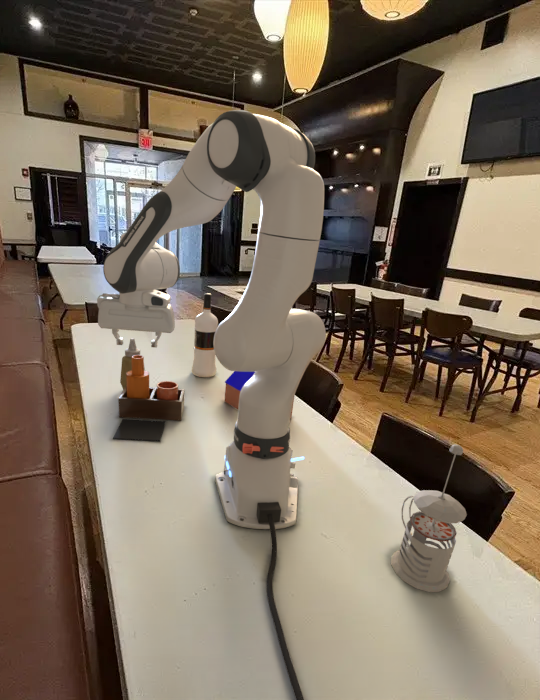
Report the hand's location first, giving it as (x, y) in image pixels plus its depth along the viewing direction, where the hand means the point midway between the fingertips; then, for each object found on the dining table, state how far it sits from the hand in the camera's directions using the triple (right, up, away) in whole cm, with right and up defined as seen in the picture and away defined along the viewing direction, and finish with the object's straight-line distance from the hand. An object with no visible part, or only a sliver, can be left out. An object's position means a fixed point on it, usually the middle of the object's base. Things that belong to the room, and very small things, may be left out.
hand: (137, 345), depth 115 cm
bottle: (-1, -19, +7) cm, 20 cm away
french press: (+60, -43, -41) cm, 84 cm away
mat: (+2, -23, -3) cm, 23 cm away
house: (+34, -19, +15) cm, 42 cm away
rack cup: (+7, -19, +8) cm, 22 cm away
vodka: (+15, -7, +41) cm, 44 cm away
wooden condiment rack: (+3, -19, +8) cm, 21 cm away
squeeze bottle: (-6, -13, +20) cm, 25 cm away
